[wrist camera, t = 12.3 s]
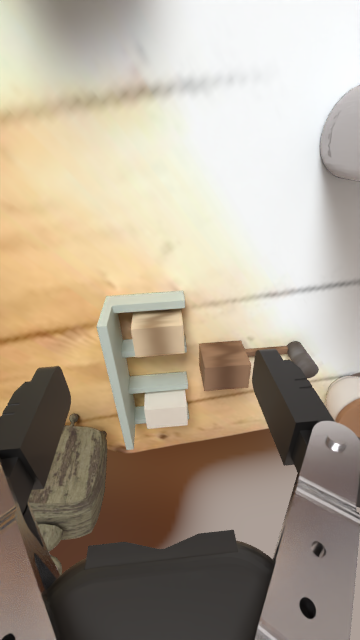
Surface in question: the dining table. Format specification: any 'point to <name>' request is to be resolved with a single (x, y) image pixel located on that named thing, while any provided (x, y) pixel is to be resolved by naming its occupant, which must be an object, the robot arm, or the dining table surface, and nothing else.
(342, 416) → the lidded jar
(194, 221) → the dining table surface
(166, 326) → the oak block
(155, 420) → the cream block
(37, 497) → the tabletop clock
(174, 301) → the lane shelf
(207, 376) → the tow block
